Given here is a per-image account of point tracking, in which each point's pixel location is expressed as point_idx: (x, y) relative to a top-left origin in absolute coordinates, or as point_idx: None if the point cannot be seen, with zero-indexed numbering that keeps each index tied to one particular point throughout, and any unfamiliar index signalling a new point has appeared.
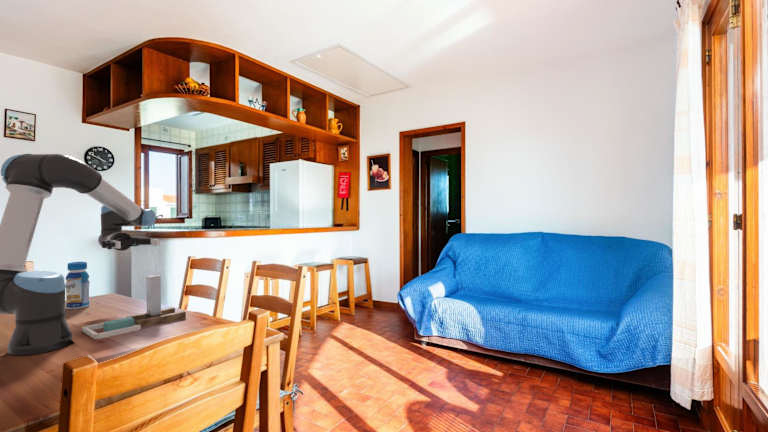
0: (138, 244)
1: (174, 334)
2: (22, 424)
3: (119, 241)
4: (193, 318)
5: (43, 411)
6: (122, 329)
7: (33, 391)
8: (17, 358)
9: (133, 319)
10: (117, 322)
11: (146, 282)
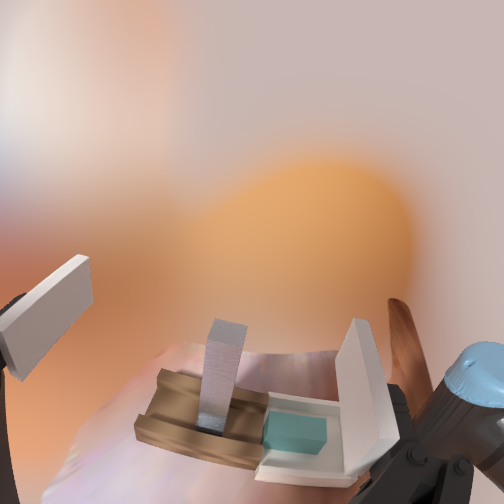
0: (18, 501)
1: None
2: (400, 300)
3: (360, 320)
4: (129, 389)
5: (392, 303)
6: (303, 397)
7: (403, 333)
8: None
9: (271, 411)
10: (306, 416)
11: (238, 364)
